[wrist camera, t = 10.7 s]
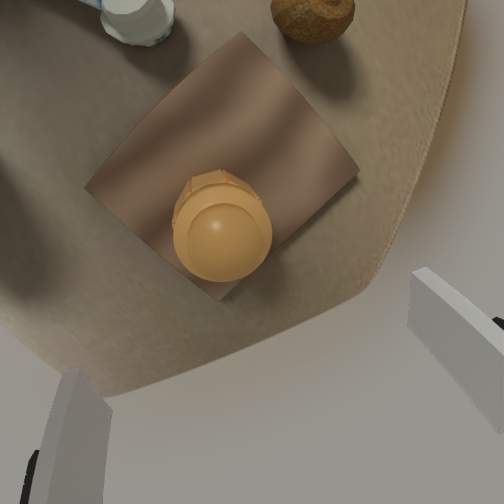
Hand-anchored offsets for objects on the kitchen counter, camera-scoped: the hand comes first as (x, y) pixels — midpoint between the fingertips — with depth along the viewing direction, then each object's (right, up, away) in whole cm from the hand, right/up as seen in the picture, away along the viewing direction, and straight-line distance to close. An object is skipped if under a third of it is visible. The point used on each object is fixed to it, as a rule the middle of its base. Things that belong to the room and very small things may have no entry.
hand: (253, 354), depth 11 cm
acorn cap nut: (-3, +7, +15) cm, 17 cm away
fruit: (+4, +24, +11) cm, 27 cm away
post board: (-2, +11, +15) cm, 19 cm away
